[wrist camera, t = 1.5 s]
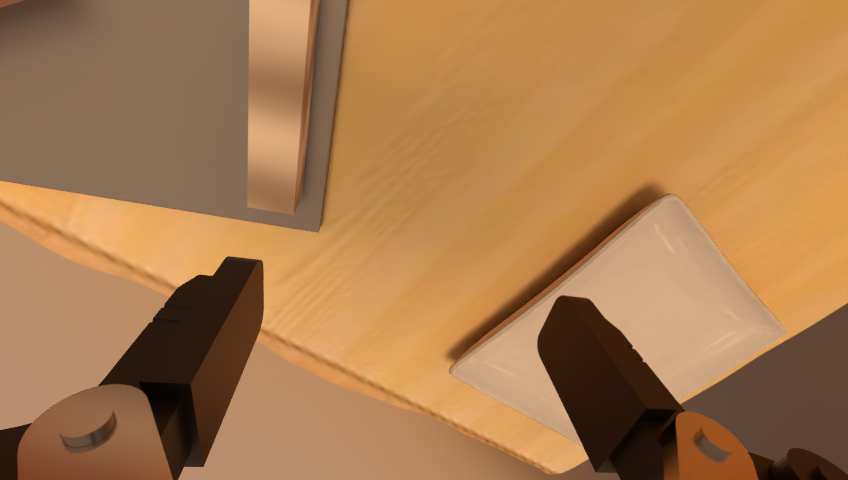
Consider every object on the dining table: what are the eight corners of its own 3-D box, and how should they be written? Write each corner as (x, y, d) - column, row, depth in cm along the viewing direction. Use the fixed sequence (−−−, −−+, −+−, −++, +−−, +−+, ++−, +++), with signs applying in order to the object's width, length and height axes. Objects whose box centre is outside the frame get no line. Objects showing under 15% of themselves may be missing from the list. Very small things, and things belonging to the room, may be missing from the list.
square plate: (646, 173, 32) (677, 190, 28) (761, 312, 42) (793, 336, 39) (441, 350, 40) (446, 378, 37) (579, 428, 51) (593, 455, 48)
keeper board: (-228, -399, 14) (-729, -751, 8) (368, -163, 19) (361, -261, 13) (-21, 166, 26) (-157, 211, 19) (321, 224, 30) (304, 275, 24)
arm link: (260, -164, 18) (229, -211, 14) (341, -134, 18) (332, -171, 15) (253, 188, 27) (234, 212, 23) (308, 198, 27) (297, 222, 24)
